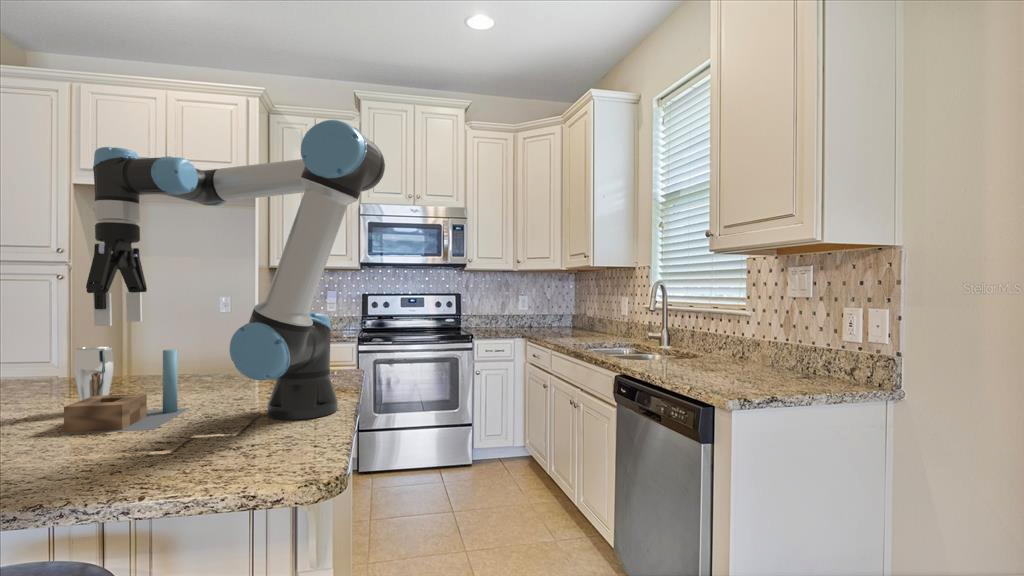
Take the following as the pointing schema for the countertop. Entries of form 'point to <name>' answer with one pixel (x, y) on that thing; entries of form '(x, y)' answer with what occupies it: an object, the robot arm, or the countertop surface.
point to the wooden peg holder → (105, 413)
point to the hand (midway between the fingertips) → (119, 323)
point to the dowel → (170, 380)
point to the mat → (146, 421)
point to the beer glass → (93, 371)
